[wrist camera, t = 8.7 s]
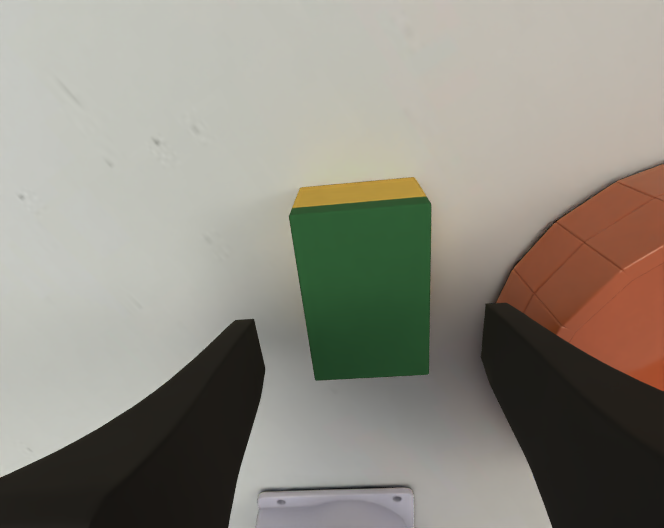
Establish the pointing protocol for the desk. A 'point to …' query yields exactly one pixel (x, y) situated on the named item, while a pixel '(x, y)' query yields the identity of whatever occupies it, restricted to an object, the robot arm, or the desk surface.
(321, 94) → the desk surface
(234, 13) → the desk surface
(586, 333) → the bowl
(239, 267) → the desk surface
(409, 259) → the dish sponge
